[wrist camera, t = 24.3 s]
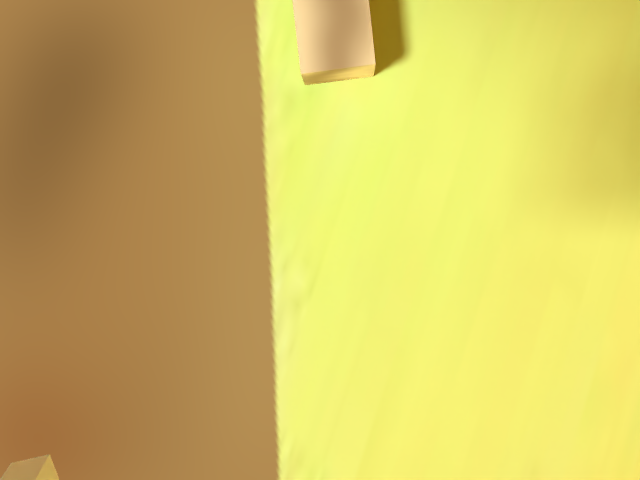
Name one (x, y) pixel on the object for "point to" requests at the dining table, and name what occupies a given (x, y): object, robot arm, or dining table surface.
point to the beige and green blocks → (334, 40)
